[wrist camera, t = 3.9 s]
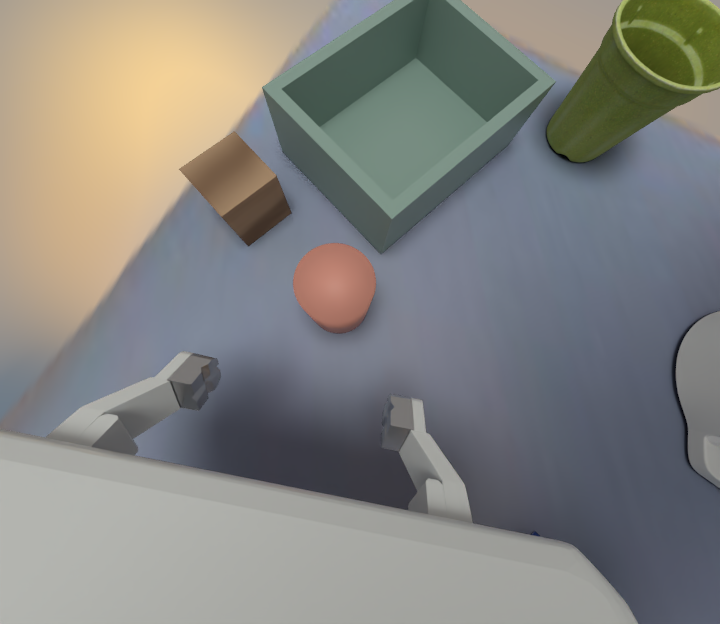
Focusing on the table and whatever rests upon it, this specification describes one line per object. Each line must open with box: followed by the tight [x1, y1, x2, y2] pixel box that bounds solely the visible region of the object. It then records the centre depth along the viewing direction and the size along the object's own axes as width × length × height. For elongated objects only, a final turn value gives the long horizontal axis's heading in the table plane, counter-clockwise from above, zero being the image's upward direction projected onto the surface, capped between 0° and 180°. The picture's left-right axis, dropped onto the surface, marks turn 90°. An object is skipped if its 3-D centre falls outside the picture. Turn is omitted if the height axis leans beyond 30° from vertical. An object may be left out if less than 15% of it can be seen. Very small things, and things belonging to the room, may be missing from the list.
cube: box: [179, 131, 291, 246], centre depth 21 cm, size 5×5×5 cm
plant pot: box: [547, 0, 720, 162], centre depth 22 cm, size 9×9×9 cm
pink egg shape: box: [293, 243, 376, 333], centre depth 19 cm, size 5×5×7 cm
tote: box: [262, 0, 556, 254], centre depth 22 cm, size 14×18×6 cm
